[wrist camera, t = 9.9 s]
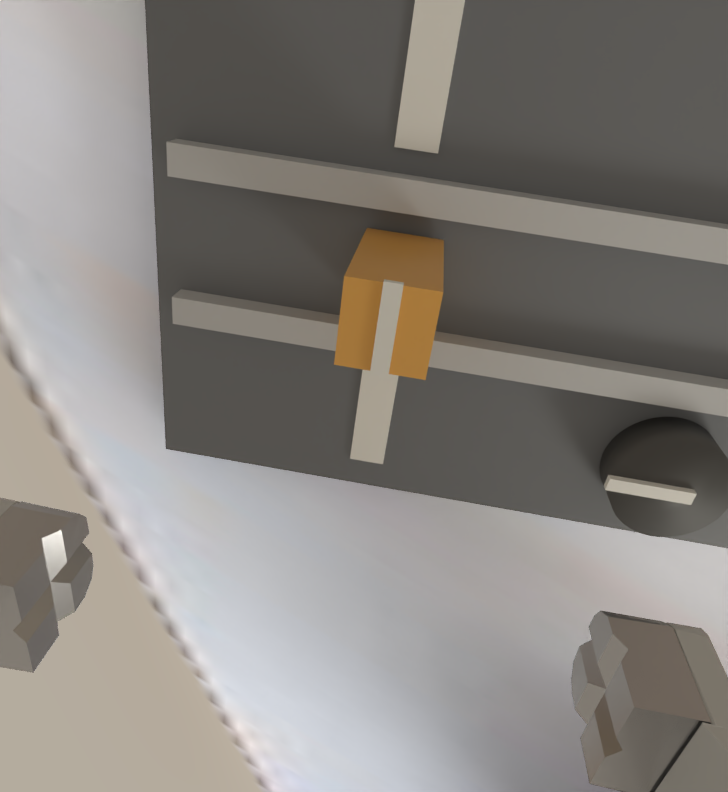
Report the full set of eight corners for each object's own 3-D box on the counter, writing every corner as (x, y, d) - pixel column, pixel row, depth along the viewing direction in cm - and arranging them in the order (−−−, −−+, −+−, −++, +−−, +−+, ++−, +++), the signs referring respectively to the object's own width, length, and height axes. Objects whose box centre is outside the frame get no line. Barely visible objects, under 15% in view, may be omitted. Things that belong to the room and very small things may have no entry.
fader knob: (429, 314, 25) (424, 385, 19) (357, 302, 25) (332, 370, 19) (444, 237, 23) (444, 291, 18) (367, 225, 23) (343, 274, 18)
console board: (715, 521, 31) (752, 584, 27) (181, 427, 32) (146, 476, 28) (995, 14, 20) (1124, 3, 16) (165, -102, 21) (103, -137, 17)
